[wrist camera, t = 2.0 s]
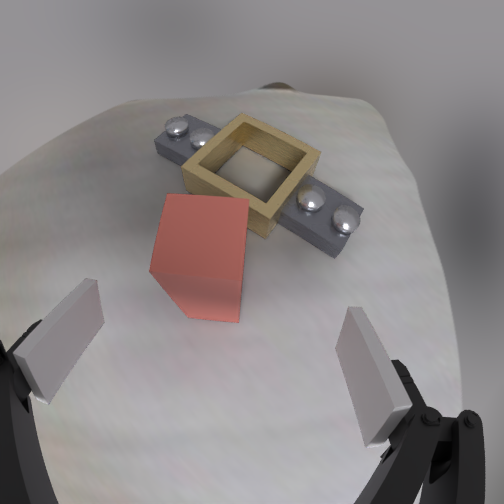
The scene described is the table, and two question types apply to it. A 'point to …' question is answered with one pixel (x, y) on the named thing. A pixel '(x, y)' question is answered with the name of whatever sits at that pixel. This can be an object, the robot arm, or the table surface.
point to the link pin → (202, 254)
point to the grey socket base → (288, 194)
